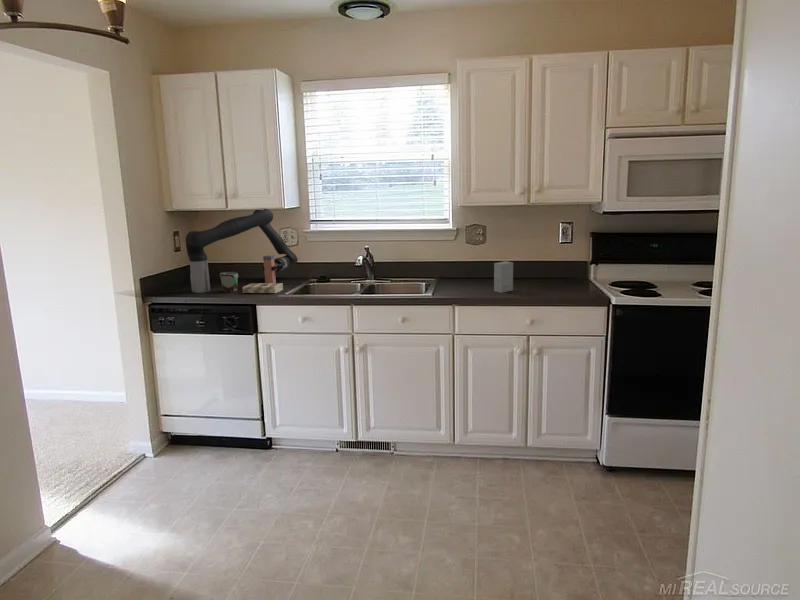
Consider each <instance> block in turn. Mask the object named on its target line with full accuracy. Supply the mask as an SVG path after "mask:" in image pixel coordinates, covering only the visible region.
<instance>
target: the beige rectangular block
mask: <svg viewBox="0 0 800 600" xmlns="http://www.w3.org/2000/svg"><path fill="white" fill-rule="evenodd" d="M283 284H284V283H283V282H281V283H279V282H276V283H265V282H264V283H263V282H262V283H261V282H259V283H256V282H253V283H252V282H251V283H249V284H247V285H244V286H242V294H243V293H276V294H277V292H278V293H279V292H281V291H284V285H283Z"/></svg>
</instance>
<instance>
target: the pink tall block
mask: <svg viewBox="0 0 800 600" xmlns="http://www.w3.org/2000/svg"><path fill="white" fill-rule="evenodd" d="M262 258H263V261H262V262H263V264H264V271H263V272H264V283H277V280H276V272H275V270H274V271H271V267H273V266H275V263H274V259H275V255H274V254H273V255H270V254H269V255H268V254H266V255H264V256H262Z"/></svg>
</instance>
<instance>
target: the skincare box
mask: <svg viewBox="0 0 800 600" xmlns="http://www.w3.org/2000/svg"><path fill="white" fill-rule="evenodd" d="M493 266H494V268H493V291H494V292H497V293H501V294H503V293H506V292H513V291H514V262H512V261H508V260H507V261H506V260H504V261H500V262H494V263H493Z"/></svg>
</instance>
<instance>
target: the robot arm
mask: <svg viewBox="0 0 800 600" xmlns="http://www.w3.org/2000/svg"><path fill="white" fill-rule="evenodd" d="M263 209H264V210H257V209H255V210H254V211H253V213H252V214H250V215H245V216H238V217H234V218H231V219H227V220H224V221H222V222H220V223H219V224H217V225H216V226H214V227H212V228H209V229H208V228H207V229H206V230H205V229H204V230H201V231H199V230H191V231H189V232H188V233H187V234H186V236H185V246H186V253H187V254H186V255H187V257H188V259H189V267H190V268H189V270H190V275H189V277H190V286H191V292H193V293H194V294H195V293H196V294H201V293H202V294H203V293H208V292H211V284H210V273H209V264H208V262H209V261H208V255H207V254H206V252H205V251H204V248H205V247H207V246H209V245H212V244H213V243H215V242H218V241H221V240H224V239H228V238H231V237H234V236H237V235H240V234H242V233H245V232H247V231H249V230H251V229H253V228H257V227H259V229H261V231H262V232H263V233H264V235H265V236H266V237H267V239H268V240H269V242H270V243H271V245H272V246H273V248H274V249H275V252H276V253H277V254H278V255H283V256H281V257H276V258H274V263H275V266H273V267H271V271H274V270H275V273H278V272H281V271H283V270H286V268H288V267H291V266H294V265H296V264H297V263H298V256H297V255H296V254H295V253H294V252H293V251H292V249H290V248H289V246H288V245H287V244H286V242H285V241H284V239H283V237H282V236H281V235H280V234H279V233H278V232H277V231H276V230H275V229H274V228H273V226H272V225H271V222H272V221H273V220H274V214H273V212H272V210H270V209H268V208H263ZM261 270H262V271H263V272H264V263H262V264H261Z"/></svg>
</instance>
